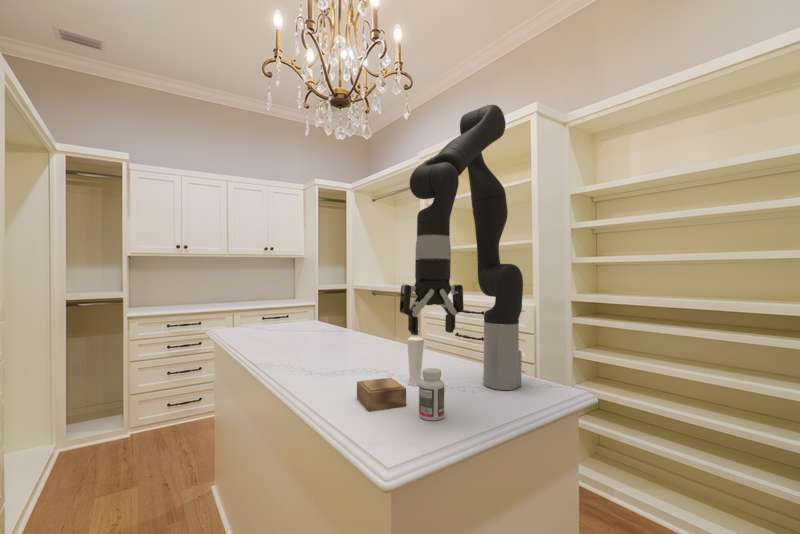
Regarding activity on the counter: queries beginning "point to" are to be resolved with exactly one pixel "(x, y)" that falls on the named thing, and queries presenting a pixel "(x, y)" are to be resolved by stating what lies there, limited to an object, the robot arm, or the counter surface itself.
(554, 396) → the counter surface
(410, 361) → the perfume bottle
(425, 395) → the pill bottle
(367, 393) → the base block
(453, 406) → the counter surface
